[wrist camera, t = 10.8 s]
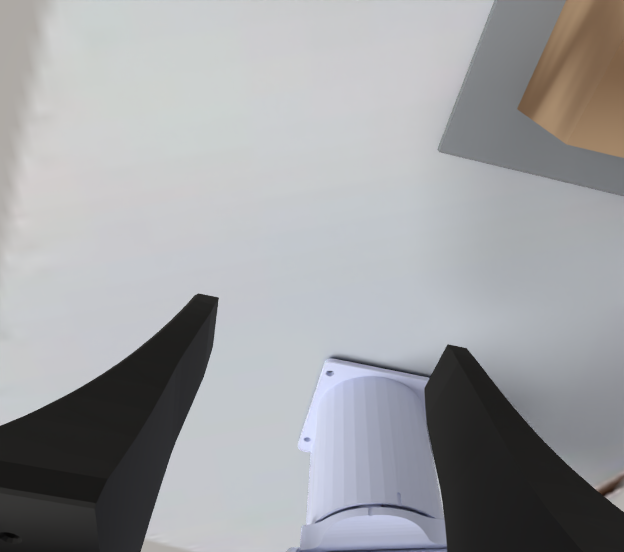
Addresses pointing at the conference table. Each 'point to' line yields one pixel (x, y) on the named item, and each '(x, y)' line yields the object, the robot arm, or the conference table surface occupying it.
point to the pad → (505, 100)
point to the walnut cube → (582, 78)
